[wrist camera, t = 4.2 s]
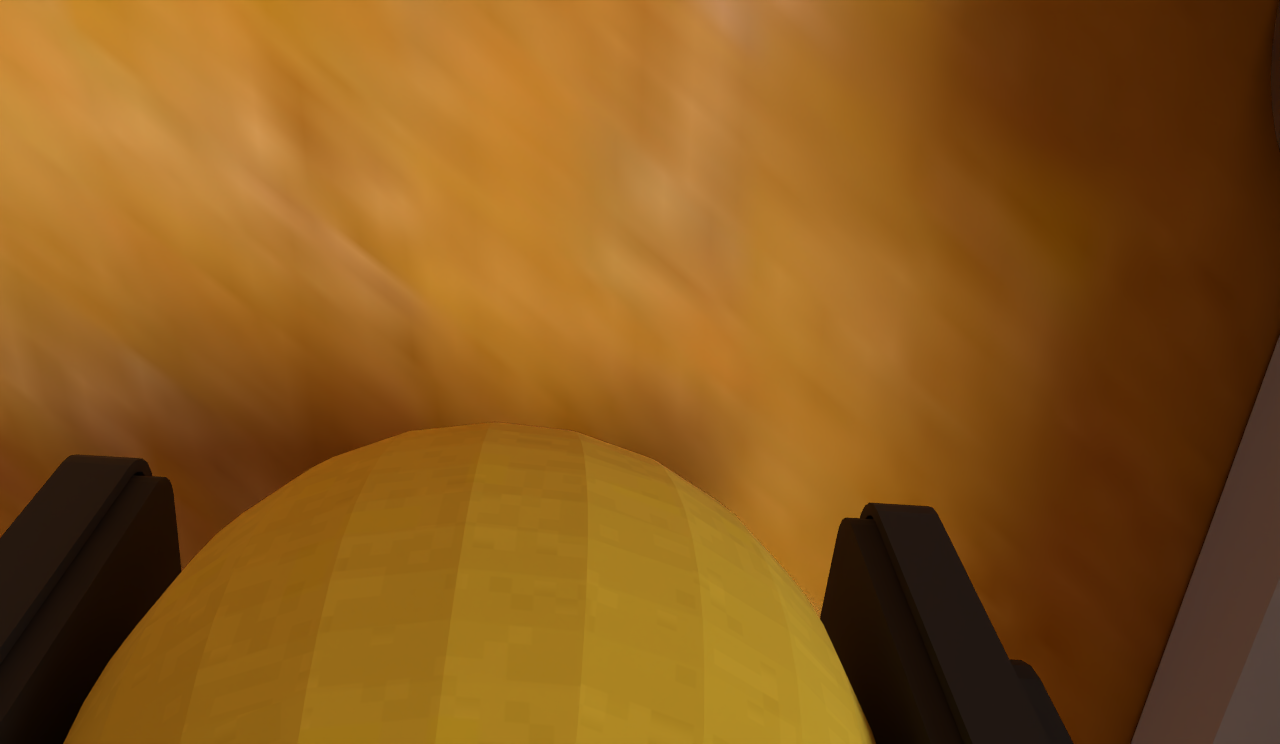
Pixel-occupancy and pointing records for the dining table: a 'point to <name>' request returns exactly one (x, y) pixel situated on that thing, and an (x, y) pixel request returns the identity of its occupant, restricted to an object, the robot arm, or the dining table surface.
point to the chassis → (1231, 591)
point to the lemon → (479, 611)
